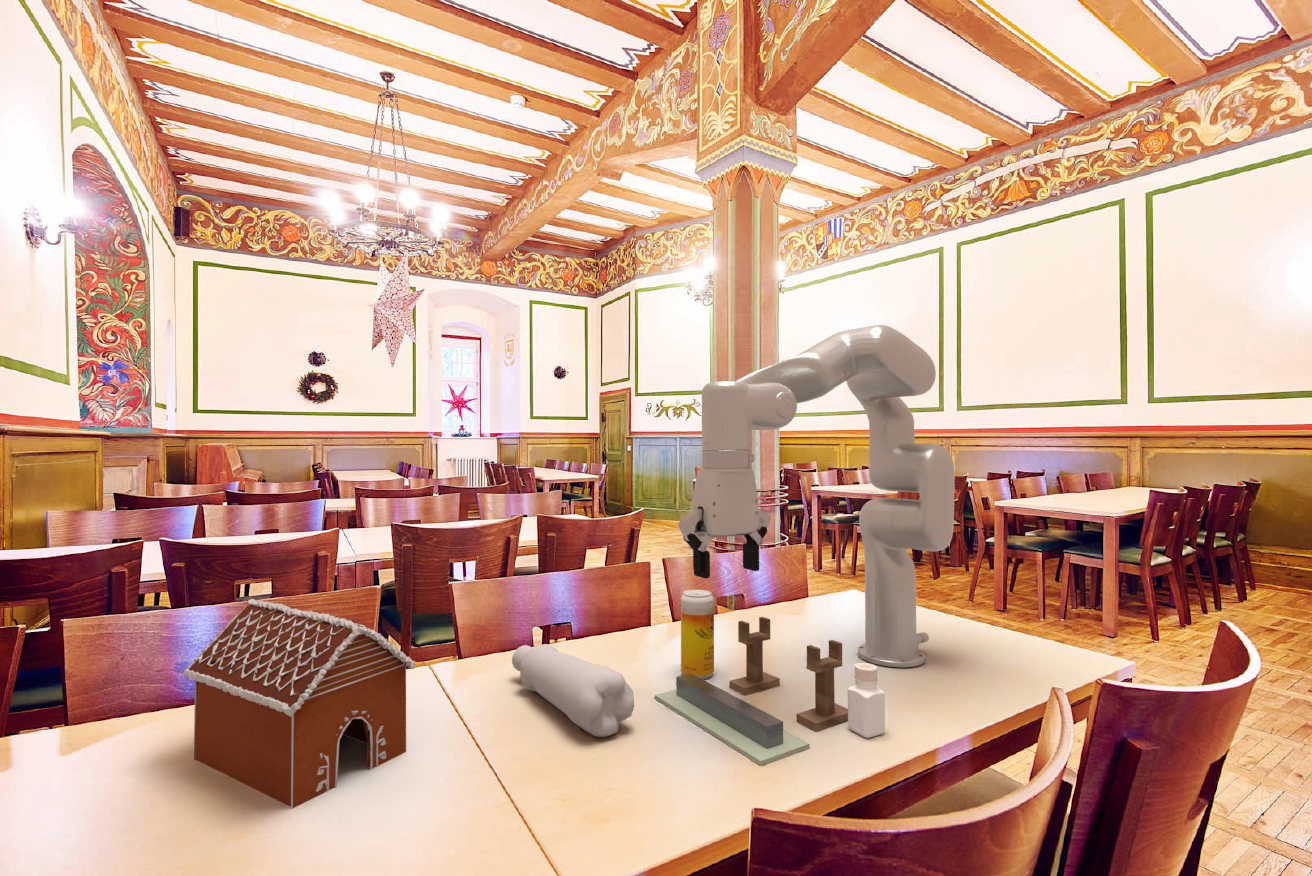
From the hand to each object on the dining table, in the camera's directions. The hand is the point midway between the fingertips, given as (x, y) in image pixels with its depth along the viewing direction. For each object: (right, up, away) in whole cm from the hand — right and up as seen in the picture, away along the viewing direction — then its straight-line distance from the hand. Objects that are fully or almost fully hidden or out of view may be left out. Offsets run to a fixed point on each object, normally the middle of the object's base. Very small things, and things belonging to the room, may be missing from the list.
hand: (727, 573), depth 95 cm
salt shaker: (+20, -22, -5) cm, 30 cm away
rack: (+11, -22, +6) cm, 26 cm away
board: (0, -22, -1) cm, 22 cm away
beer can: (-3, -23, +18) cm, 30 cm away
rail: (0, -22, -1) cm, 22 cm away
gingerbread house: (-59, -22, -12) cm, 64 cm away
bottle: (-26, -23, +5) cm, 35 cm away
